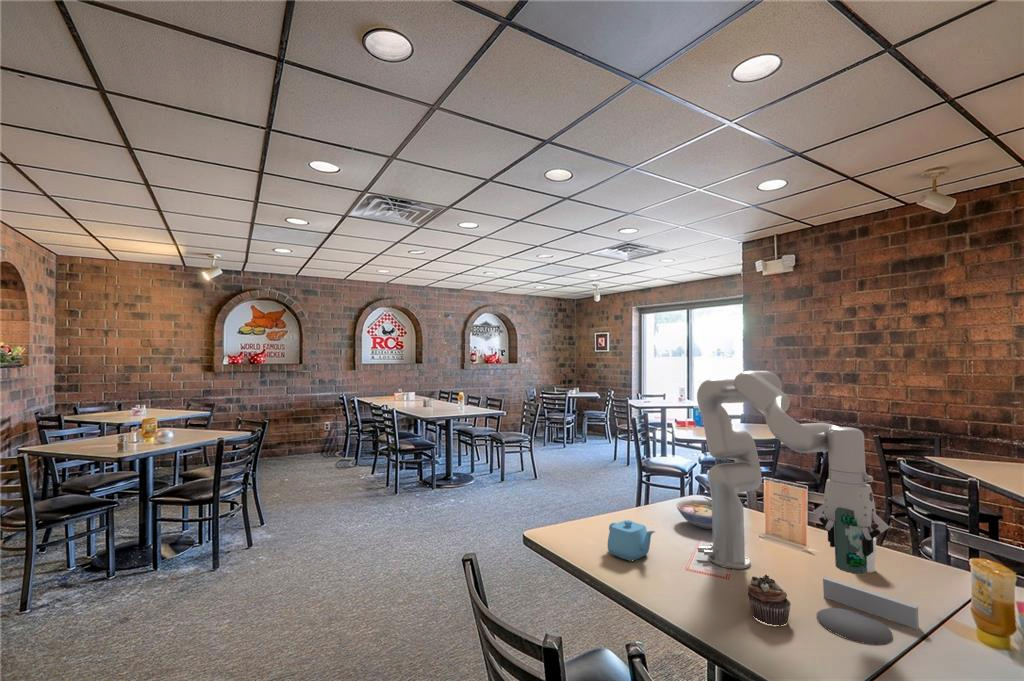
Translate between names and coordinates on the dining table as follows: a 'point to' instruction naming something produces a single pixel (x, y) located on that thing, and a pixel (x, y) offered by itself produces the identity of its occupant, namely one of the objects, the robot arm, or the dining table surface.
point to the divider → (871, 602)
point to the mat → (854, 625)
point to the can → (848, 543)
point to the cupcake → (768, 601)
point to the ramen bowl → (697, 512)
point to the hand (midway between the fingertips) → (850, 549)
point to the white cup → (872, 558)
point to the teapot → (628, 540)
